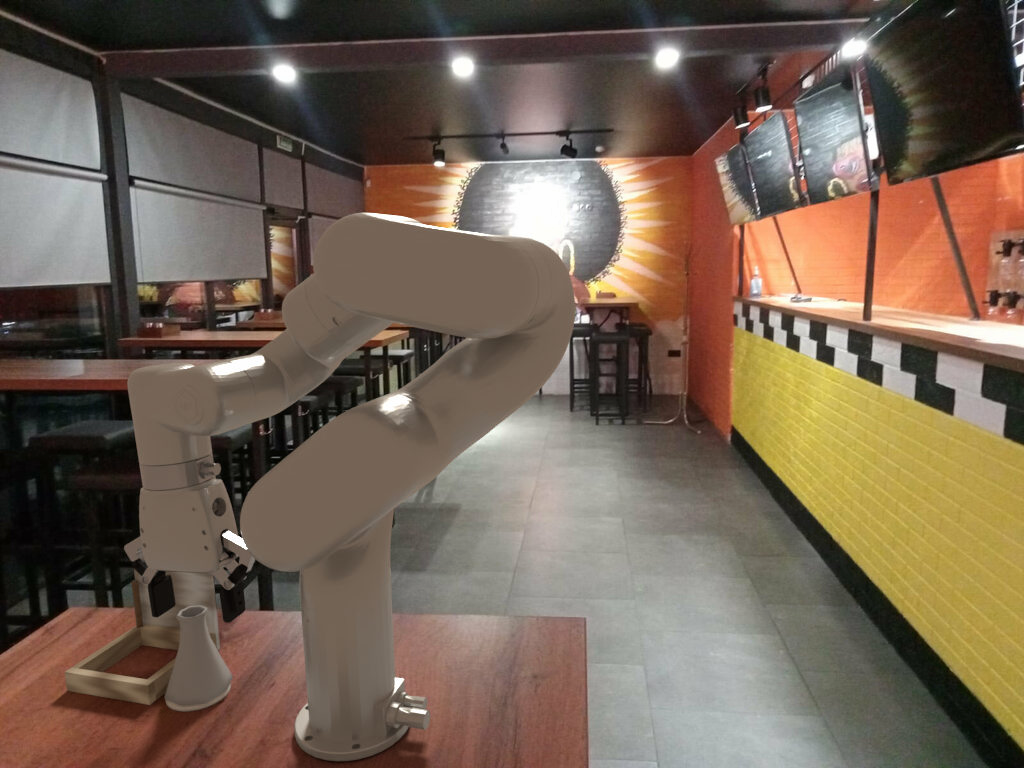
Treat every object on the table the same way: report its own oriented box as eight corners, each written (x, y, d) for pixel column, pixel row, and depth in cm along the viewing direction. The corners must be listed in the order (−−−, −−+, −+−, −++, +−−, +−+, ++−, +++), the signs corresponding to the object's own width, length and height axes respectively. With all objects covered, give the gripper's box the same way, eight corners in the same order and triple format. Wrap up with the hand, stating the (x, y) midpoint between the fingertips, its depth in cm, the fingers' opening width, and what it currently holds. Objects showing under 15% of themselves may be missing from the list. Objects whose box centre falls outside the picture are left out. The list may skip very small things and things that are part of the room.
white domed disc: (243, 680, 88) (243, 676, 88) (204, 715, 82) (204, 711, 81) (193, 672, 90) (193, 668, 90) (151, 706, 83) (151, 702, 83)
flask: (208, 711, 82) (200, 629, 80) (152, 704, 83) (143, 624, 81) (244, 675, 88) (237, 599, 87) (191, 669, 90) (184, 595, 88)
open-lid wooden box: (220, 648, 96) (212, 563, 94) (149, 704, 84) (139, 609, 82) (145, 637, 99) (135, 555, 97) (67, 690, 87) (54, 598, 85)
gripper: (264, 464, 82) (282, 604, 85) (140, 463, 87) (160, 596, 90) (222, 483, 75) (243, 635, 78) (89, 482, 80) (113, 625, 82)
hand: (199, 614), depth 84 cm, fingers open, 9 cm apart
